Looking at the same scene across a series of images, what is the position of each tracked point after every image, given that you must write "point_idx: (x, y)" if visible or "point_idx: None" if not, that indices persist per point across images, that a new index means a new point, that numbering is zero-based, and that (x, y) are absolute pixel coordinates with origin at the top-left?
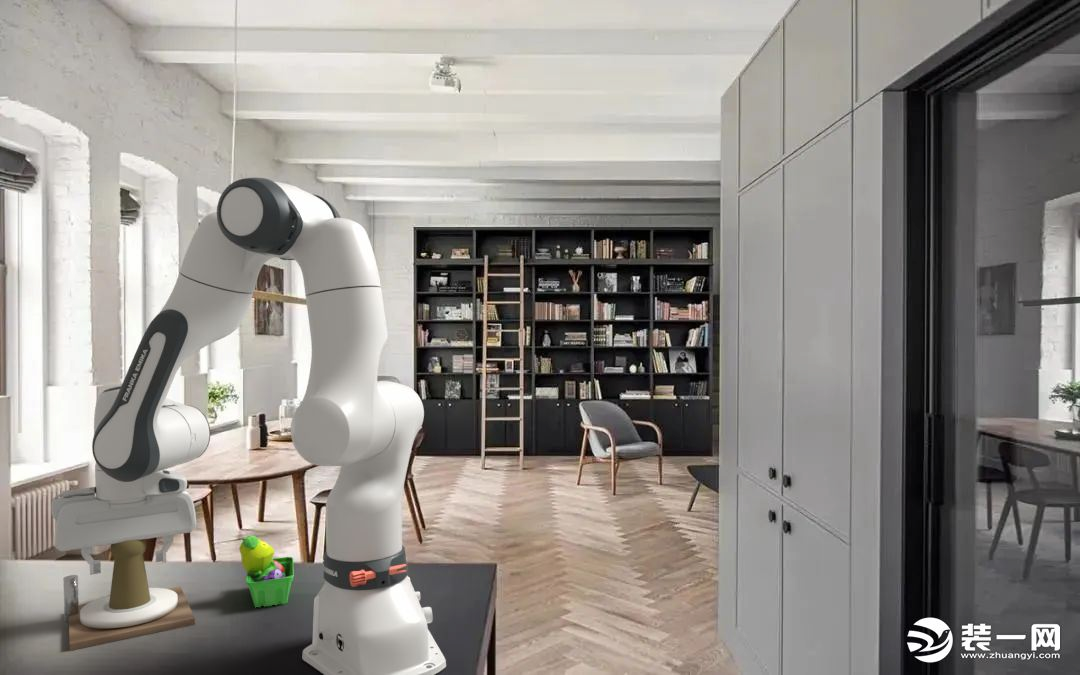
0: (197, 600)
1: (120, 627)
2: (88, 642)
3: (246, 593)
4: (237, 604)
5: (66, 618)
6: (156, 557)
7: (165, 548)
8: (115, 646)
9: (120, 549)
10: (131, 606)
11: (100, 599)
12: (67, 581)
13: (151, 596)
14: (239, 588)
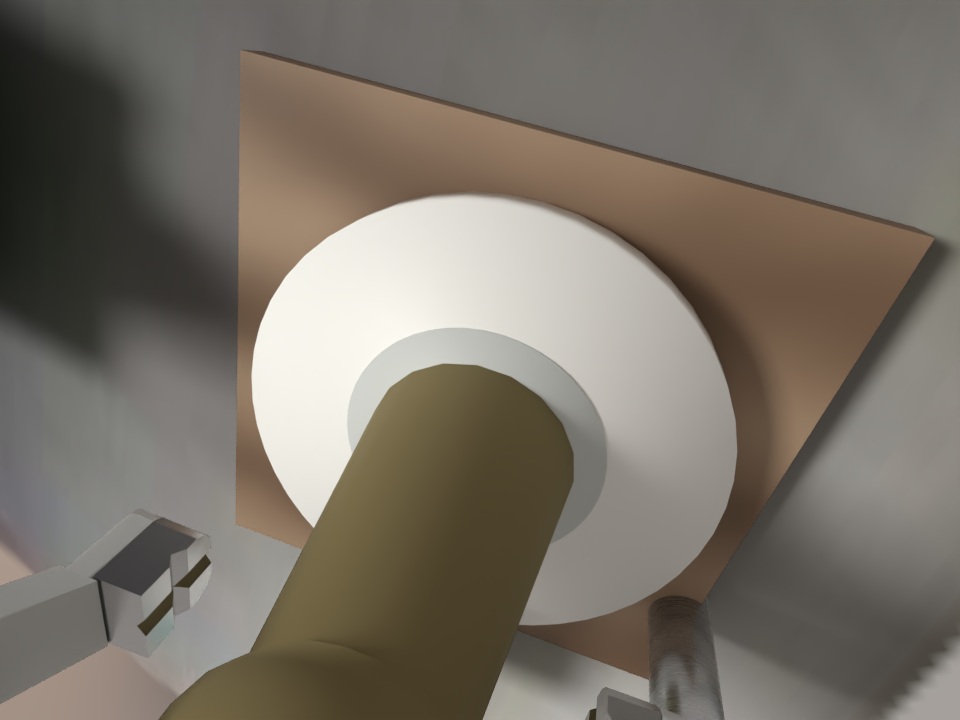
0: (207, 370)
1: None
2: (819, 204)
3: (19, 275)
4: (55, 168)
5: (707, 600)
6: (179, 596)
7: (33, 597)
8: (706, 70)
9: None
10: (488, 376)
11: (558, 605)
12: None
13: None
14: (45, 356)
